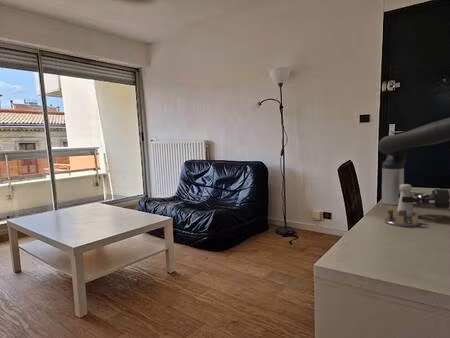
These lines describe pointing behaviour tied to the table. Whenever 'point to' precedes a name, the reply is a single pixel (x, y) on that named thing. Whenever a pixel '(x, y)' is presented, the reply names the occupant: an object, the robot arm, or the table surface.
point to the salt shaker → (405, 193)
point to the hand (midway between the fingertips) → (400, 197)
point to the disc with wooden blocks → (401, 219)
